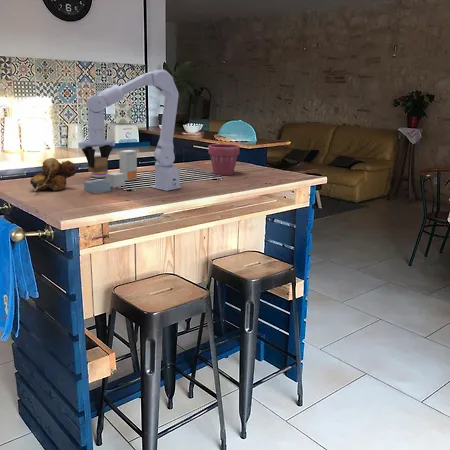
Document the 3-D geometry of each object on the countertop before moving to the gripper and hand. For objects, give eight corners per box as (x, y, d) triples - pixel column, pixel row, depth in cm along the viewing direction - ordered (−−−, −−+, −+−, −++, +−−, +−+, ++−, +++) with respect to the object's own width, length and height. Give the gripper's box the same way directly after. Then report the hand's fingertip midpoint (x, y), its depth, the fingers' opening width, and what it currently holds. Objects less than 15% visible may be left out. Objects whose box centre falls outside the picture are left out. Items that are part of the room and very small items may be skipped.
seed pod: (84, 173, 184) (70, 155, 194) (40, 167, 173) (28, 149, 183) (74, 204, 189) (61, 185, 198) (31, 200, 178) (20, 180, 188)
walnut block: (107, 171, 186) (107, 157, 185) (96, 172, 183) (95, 159, 181) (99, 169, 189) (98, 156, 188) (88, 170, 186) (87, 157, 184)
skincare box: (126, 181, 206) (125, 152, 203) (119, 179, 208) (118, 150, 205) (137, 179, 211) (136, 150, 207) (130, 177, 213) (129, 149, 210)
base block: (110, 191, 188) (110, 182, 187) (93, 194, 183) (93, 184, 182) (100, 188, 193) (100, 179, 192) (84, 190, 188) (83, 181, 187)
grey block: (124, 186, 197) (124, 173, 195) (114, 188, 193) (114, 175, 192) (117, 184, 200) (116, 171, 198) (106, 186, 196) (106, 173, 195)
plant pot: (203, 171, 232) (203, 143, 229) (230, 170, 238) (231, 143, 235) (215, 177, 220) (216, 148, 216) (244, 175, 226) (245, 147, 222)
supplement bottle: (105, 178, 211) (104, 147, 207) (90, 177, 211) (88, 147, 207) (109, 175, 217) (108, 145, 213) (94, 174, 217) (93, 145, 214)
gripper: (106, 127, 189) (107, 163, 193) (72, 129, 179) (74, 167, 183) (117, 129, 185) (118, 165, 189) (84, 131, 174) (85, 169, 178)
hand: (97, 166), depth 185 cm, fingers closed on walnut block, 5 cm apart
